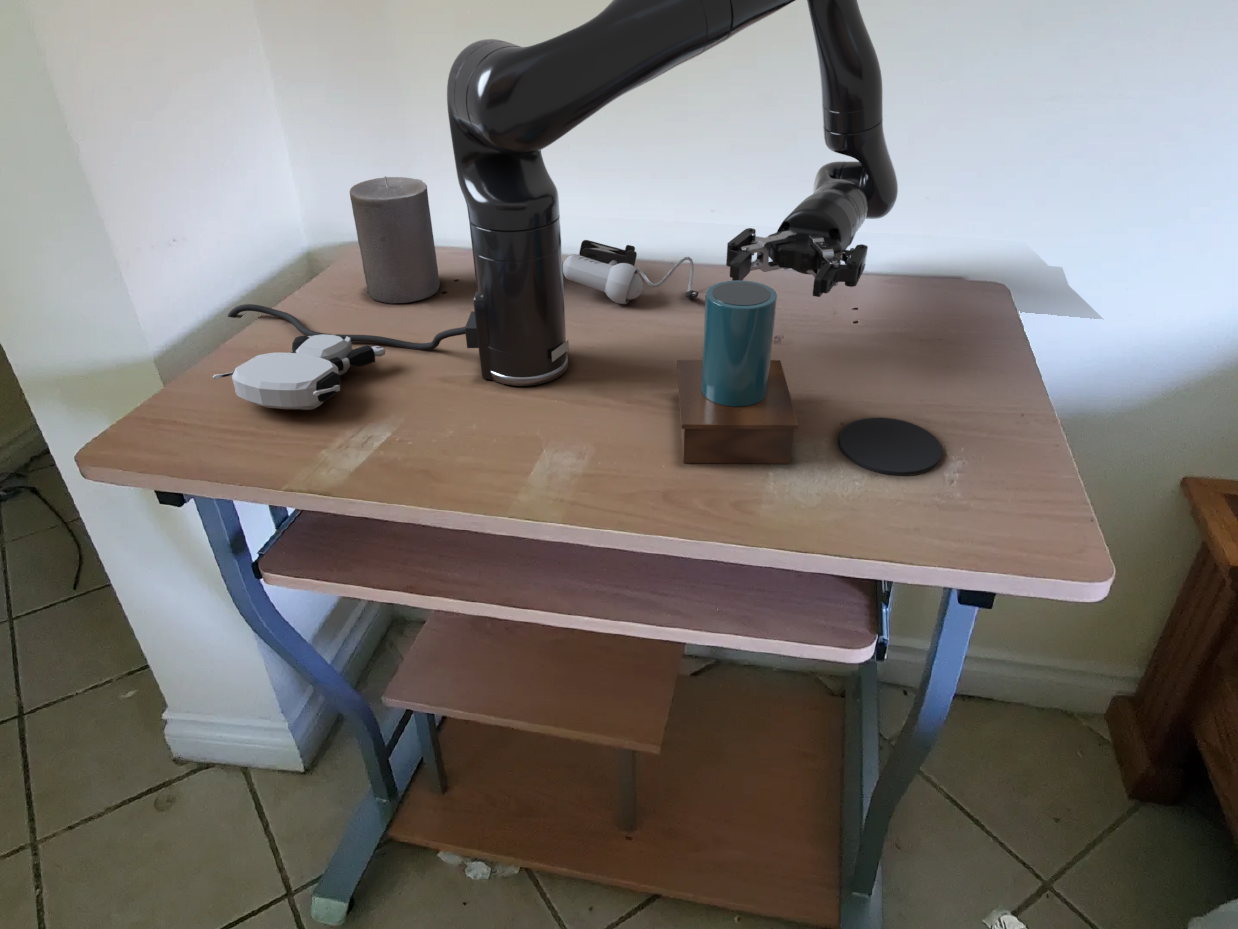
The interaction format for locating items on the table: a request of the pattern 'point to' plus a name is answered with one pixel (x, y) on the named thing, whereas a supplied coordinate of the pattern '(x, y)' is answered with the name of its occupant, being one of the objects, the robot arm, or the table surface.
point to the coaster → (890, 446)
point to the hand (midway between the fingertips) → (775, 280)
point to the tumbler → (737, 342)
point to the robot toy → (300, 372)
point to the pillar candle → (395, 239)
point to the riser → (735, 422)
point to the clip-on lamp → (613, 271)
